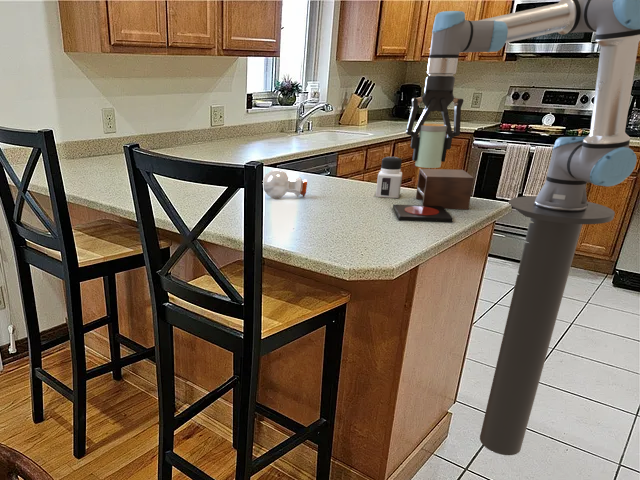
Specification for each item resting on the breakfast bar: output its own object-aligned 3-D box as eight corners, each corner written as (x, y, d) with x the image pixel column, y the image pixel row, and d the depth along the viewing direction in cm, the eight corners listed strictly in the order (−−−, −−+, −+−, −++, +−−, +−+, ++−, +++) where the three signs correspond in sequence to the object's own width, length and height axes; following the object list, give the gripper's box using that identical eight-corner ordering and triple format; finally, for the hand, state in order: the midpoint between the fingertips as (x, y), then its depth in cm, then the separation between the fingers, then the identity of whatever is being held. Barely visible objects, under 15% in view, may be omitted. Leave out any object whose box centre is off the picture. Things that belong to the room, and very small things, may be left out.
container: (398, 198, 180) (403, 159, 174) (375, 196, 182) (379, 158, 177) (399, 193, 186) (404, 156, 181) (377, 192, 189) (381, 155, 183)
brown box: (458, 199, 178) (463, 169, 174) (468, 209, 166) (474, 177, 162) (415, 198, 180) (419, 168, 176) (422, 208, 168) (427, 176, 164)
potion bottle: (259, 200, 183) (301, 205, 184) (262, 189, 173) (307, 194, 174) (261, 175, 185) (303, 180, 186) (265, 163, 175) (309, 168, 176)
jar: (438, 164, 157) (444, 123, 152) (443, 168, 150) (450, 126, 145) (412, 163, 158) (417, 123, 153) (416, 167, 151) (422, 125, 146)
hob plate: (441, 209, 166) (442, 205, 165) (452, 222, 152) (452, 217, 151) (392, 208, 167) (393, 203, 167) (398, 220, 154) (399, 215, 153)
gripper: (475, 75, 146) (461, 159, 155) (401, 75, 148) (391, 157, 158) (483, 75, 139) (467, 163, 148) (405, 75, 142) (394, 161, 151)
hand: (428, 160), depth 153 cm, fingers closed on jar, 7 cm apart
